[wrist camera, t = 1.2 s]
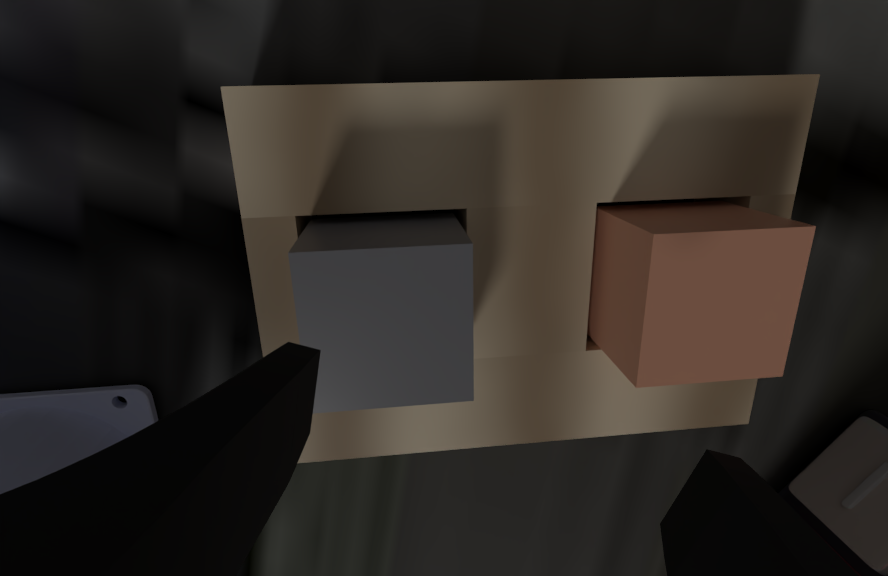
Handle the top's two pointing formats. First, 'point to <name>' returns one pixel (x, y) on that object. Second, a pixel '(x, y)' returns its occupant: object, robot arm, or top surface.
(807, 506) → the grey and red box
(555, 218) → the tan flat rectangular block
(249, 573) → the top surface
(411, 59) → the top surface
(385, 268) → the gray cube
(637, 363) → the brown cube
